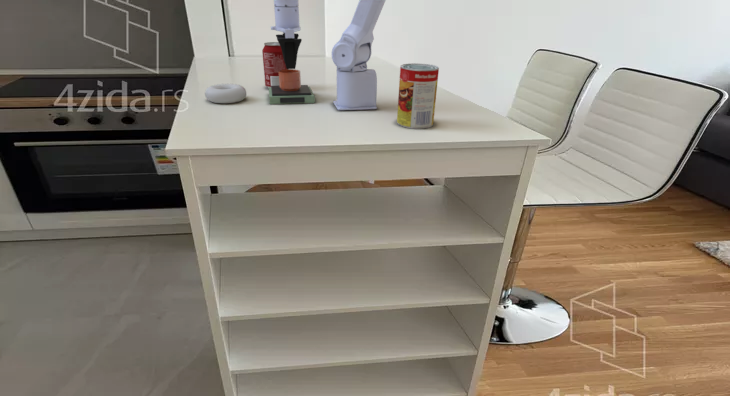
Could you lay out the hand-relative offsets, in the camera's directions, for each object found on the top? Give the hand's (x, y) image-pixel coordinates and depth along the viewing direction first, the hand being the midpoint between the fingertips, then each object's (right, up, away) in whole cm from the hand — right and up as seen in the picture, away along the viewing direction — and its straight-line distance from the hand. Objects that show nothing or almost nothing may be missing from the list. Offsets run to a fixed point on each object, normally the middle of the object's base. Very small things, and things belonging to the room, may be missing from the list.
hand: (289, 66), depth 106 cm
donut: (-16, -9, 0) cm, 18 cm away
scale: (0, -7, +4) cm, 8 cm away
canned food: (+30, -17, -14) cm, 37 cm away
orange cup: (0, -5, +3) cm, 6 cm away
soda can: (-6, -2, +14) cm, 16 cm away
